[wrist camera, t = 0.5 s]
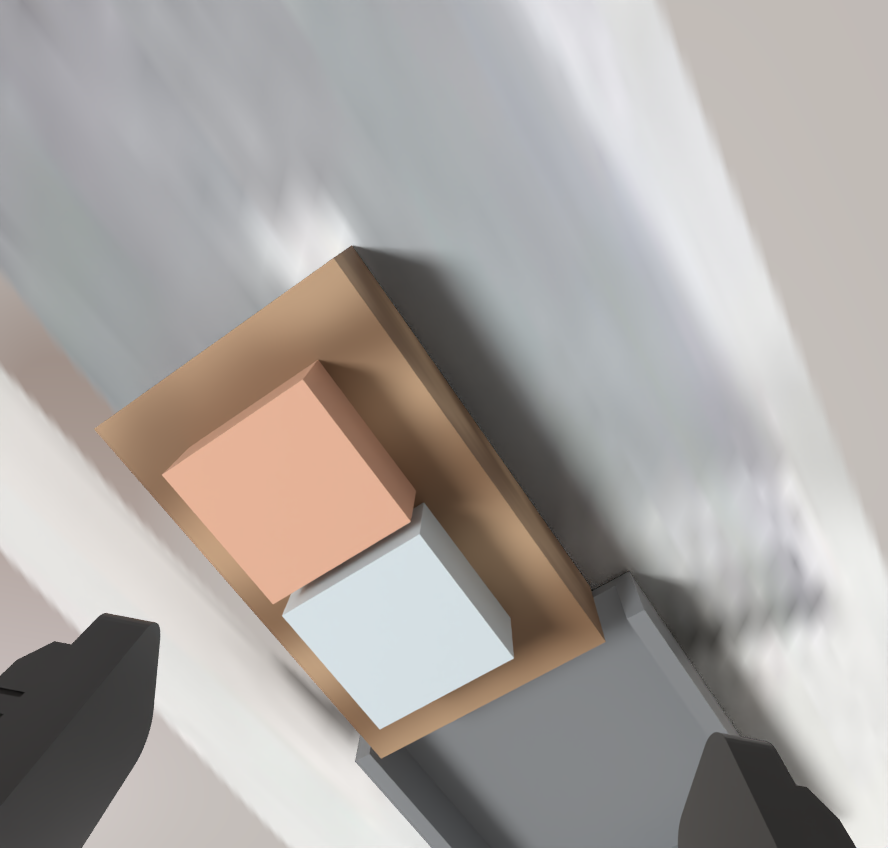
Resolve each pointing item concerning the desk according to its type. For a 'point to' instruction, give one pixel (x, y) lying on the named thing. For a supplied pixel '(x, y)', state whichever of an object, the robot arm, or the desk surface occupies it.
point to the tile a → (294, 484)
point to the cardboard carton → (410, 446)
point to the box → (567, 748)
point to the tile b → (403, 621)
